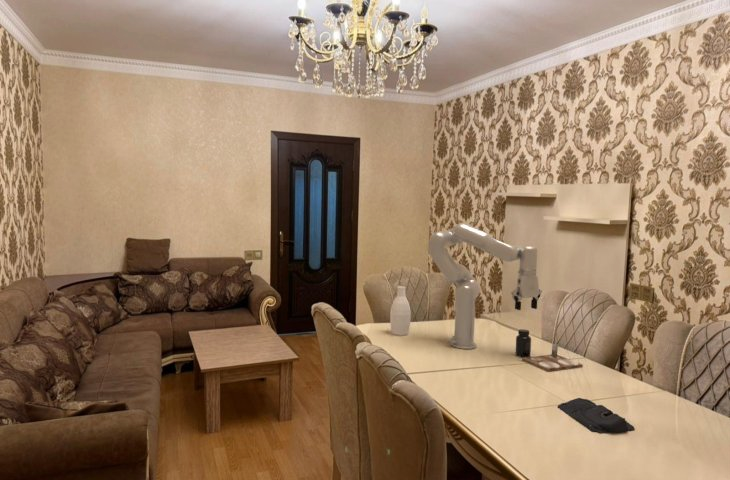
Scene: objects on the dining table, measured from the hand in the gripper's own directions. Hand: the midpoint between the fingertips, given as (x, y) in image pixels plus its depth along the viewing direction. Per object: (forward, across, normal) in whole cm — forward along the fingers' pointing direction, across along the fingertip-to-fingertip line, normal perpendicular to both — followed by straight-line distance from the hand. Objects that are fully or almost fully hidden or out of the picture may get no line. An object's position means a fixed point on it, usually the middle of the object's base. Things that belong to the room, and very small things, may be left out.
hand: (525, 309), depth 225 cm
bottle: (+22, -38, +52) cm, 68 cm away
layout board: (+22, +4, -14) cm, 26 cm away
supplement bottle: (+22, 0, 0) cm, 22 cm away
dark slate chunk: (+23, -27, -62) cm, 72 cm away
